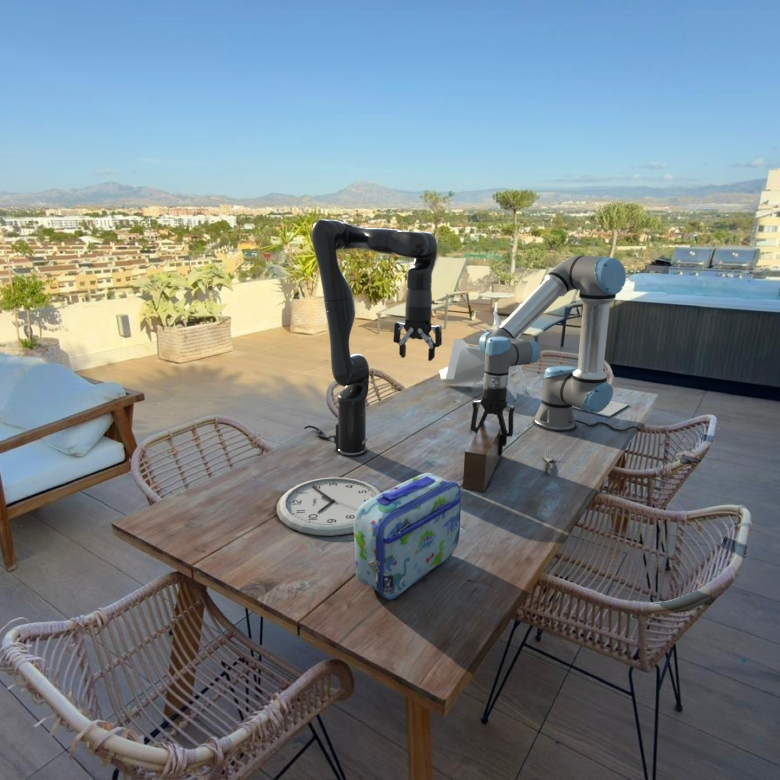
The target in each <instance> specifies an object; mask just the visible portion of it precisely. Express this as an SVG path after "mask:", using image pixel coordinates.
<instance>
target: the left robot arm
mask: <svg viewBox="0 0 780 780" xmlns="http://www.w3.org/2000/svg"><path fill="white" fill-rule="evenodd" d="M437 241H438V240H437V239H436V237H435V235H434V234H433V233H432V232H429V231H403V230H399V229H393V228H379V227H370V228H369V227H360V226H355V225H352V224H349V223H346V222H343V221H341V220H336V219H318V220H317V221H316V222H314V224H313V226H312V229H311V242H312V247H313V252H314V254H315V255H314V256H315V259H316V262H317V267H318V270H319V277H320V283H321V288H322V295H323V302H324V303H323V304H324V309H325V315H326V316H325V317H326V321H327V328H328V335H329V345H330V346H329V347H330V363H331V373H332V377H333V379H334V381H335V382H336V384H337V385H339V386H341V387H344V388H343V389H342V390H341V391H340V392H339V393H338V395H337V423H336V424H335V434H333V435H331V434H330V435H328V436H325V435H324V436H322V435H321V433H322V430H321V429H320V428H318V427H317V426H314V425H306V426H304V427H303V430H306V429H309V428H311V429H314V430H316V431H317V433H316V436H317V437H318V438H319V439H323V440H329V439H331V438H332V439H333V444H335V451H336V452H338V454H341V456H347V457H357V456H361V455H364V454H365V453H366V452H367V447H366V446H367V445H366V442H368V438H367V436H366V435H367V433H366V431H367V429H366V428H367V427H366V425H367V424H366V423H367V413H366V412H367V411H366V410H367V409H366V407H367V405H366V404H367V401H366V400H367V397H368V395H369V387H370V386H369V385H370V384H369V383H370V367H369V363H368V360H367V358H366V357H365V356H363V355H362V354H360V353H353V354H351V351H350V337H351V332H352V330H353V327H354V324H355V323H354V321H355V316H356V307H355V300H354V299H355V298H354V294H353V290H352V288H351V286H350V284H349V282H348V281H347V279H346V277H345V276H344V274H343V272H342V270H341V268H340V264H339V261H338V255H337V252H339V251H343V250H352V249H353V250H354V249H355V250H356V249H358V250H365V251H369V252H372V253H377V254H383V255H390V256H391V255H392V256H400V257H404V258H408V259H409V258H410V259H414V260H413V265H412V266H411V267H409V268H408V270H407V273H406V292H405V307H404V308H405V309H404V323H403V322H401V321H397V322H395V323H394V325H393V326H394V327H393V343H395V344H398V347H399V351H398V352H399V353H398V354H399V356H400V358H402V359H404V358H405V357H406V355H407V350H406V349H407V344H406V343H407V342H408V340H410V339H411V340H421V341H422V340H423V341H424V342H425V343H426V344H427V346H428V347H429V348H428V353H427V354H428V356H427V361H428V362H431V361H433V360H434V359H435V355H436V348H439V347H441V346H442V344H443V340H442V339H443V337H442V336H443V335H442V332H443V331H442V329H443V328H442V325H439V324H438V325H432V307H433V305H432V304H433V294H432V293H433V291H432V282H433V276H432V275H433V271H434V267H435V263H436V260H437V254H438V242H437ZM403 329H404V330H405V334H404V335H403V336H402V338H401V332H402V330H403ZM431 331H432V332H433V334H434V339H433V337H432V335H431V333H430V332H431Z"/></svg>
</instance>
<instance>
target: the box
mask: <svg viewBox="0 0 780 780" xmlns="http://www.w3.org/2000/svg"><path fill="white" fill-rule="evenodd" d="M501 435H502V432H501V428H500V424H499V421H491V420H485V421H484V423H483V425H482V426H481V428H480V429H479V431H478V432H477V434H476V433H475V435H474V437H473V438H472V440H471V442H470V443H469V444H468V445H467V448H466V449H465V450H464V459H463V477H462V489H467V490H471V491H477V492H482V493H484V492H485V490H486V488H487V485H488V484H489V481H490V480H491V477H492V476H493V473H494V471H495V469H496V467H497V465H498V462H499V461H500V459H501V456H499V445H500V437H501Z"/></svg>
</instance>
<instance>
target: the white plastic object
mask: <svg viewBox="0 0 780 780" xmlns="http://www.w3.org/2000/svg"><path fill="white" fill-rule="evenodd" d="M492 315H493V319H494V321H495V324H496V325H495V326H496V329H497V328H498V327H499V326H500V325H501V324H502V321H501V318H500V315H499V314H498V312H497V311H496V310H495V311H492ZM522 368H523V367H522V365H518V366H515V369H516V372H517V376H518V380H519V382H520V385H521V389H522V391H523V393H524V395H525V396H526V397H528V396H531V395H530V390H529V388H528V387H529V386H528V384H527V381H526V378H525V375H524V371H523V369H522ZM484 371H485V353H484V352H482V351H481V350H480V347H479V344H478V345H473V346H469V345H468V343H466V342H465V340H464V339H463V338H460V339H458V338H454V340H453V344H452V349H451V353H450V357H449V362H448V366H446V367H444V368H442V369H440V370H439V371H438V372H439V376H440V381H442V383H443V384H444V385H445V386H449V385H458V384H467V383H468V384H469V383H473V384H477V383H480V382H482V381H484ZM507 388H508V390H509V393H510V394H511V395H512V397H513V398H514V399H515V400H517V392H516V391H517V390H516V388H515V385H514V381H513V378H512V375H511V371H510V370H509V374H508V385H507Z"/></svg>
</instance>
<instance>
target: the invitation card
mask: <svg viewBox="0 0 780 780" xmlns="http://www.w3.org/2000/svg"><path fill="white" fill-rule="evenodd" d="M628 406H629V404H627V403H623V402H618V401H614V400H611V401H610V403H609V404H608V405H607V406H606V408H605V409H603V410H602V411H600V412H597V413H595V414H596V415H600V416H604V417H608V418H609V417H611V416H613V415H614V414H616V413H617V412H619V411H621V410H623V409H624V408H626V407H628ZM573 409H575V410H581V411H584V410H583V409H580V408H577V407H575V406H573ZM587 413H590V412H589V411H587Z"/></svg>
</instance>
